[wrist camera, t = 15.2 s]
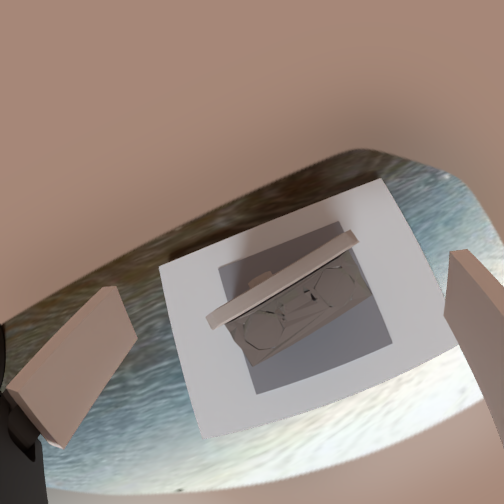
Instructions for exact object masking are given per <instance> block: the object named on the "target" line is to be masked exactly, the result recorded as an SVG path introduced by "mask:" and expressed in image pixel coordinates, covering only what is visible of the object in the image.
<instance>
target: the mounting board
mask: <svg viewBox="0 0 504 504" xmlns="http://www.w3.org/2000/svg"><path fill="white" fill-rule="evenodd" d="M350 229H351V231H352V232H353V234H354V235H355V236H356V238H357V239H358V241H359V243H357V244H356V245H354V246H353V247H351V248H350V249H349V252H350V254H351V256H352V258H353V260H354V261H355V263H356V264H357V266H358V268H359V271H360V274H361V276H362V278H363V280H364V281H365V283H366V285H367V286H368V288H369V289H370V291H371V293H372V295H371V296H370V297H368V298H367V299H365V300H364V301H362V302H361V303H359V304H358V305H356V306H355V307H353V308H351V309H350V310H348V311H347V312H345V313H344V314H342V315H341V316H339V317H337V318H336V319H334V320H333V321H331V322H329V323H328V324H326V325H325V326H323V327H321V328H320V329H318V330H316V331H315V332H313V333H311V334H310V335H308V336H306V337H305V338H303V339H301V340H300V341H298V342H296V343H295V344H293V345H291V346H289V347H288V348H286V349H284V350H282V351H281V352H279V353H277V354H275V355H274V356H272V357H270V358H268V359H266V360H265V361H263V362H261V363H259V364H257V365H255V366H254V367H253V366H251V364H250V362H249V361H248V359H247V357H246V355H245V354H244V352H243V350H242V349H241V348H240V347H239V346H238V345H237V344H236V343H235V342H234V340H233V338H232V336H231V334H230V332H229V331H228V329H227V328H226V326H225V325H222V326H220V327H218V328H216V329H214V330H212V329H211V327H210V325H209V323H208V321H207V319H206V316H207V315H209V314H210V313H211V312H213V311H214V310H216V309H217V308H219V307H220V306H222V305H224V304H225V303H227V302H229V301H230V300H232V299H234V298H236V297H237V296H239V295H241V294H242V293H244V292H246V291H247V290H249V289H250V287H249V285H248V283H249V282H250V281H251V280H252V279H254V278H256V277H258V276H259V275H261V274H263V273H265V272H268V271H271V273H272V274H275V273H277V272H279V271H280V270H282V269H284V268H286V267H287V266H289V265H291V264H292V263H294V262H296V261H297V260H299V259H301V258H302V257H304V256H306V255H307V254H309V253H310V252H312V251H314V250H315V249H317V248H319V247H320V246H322V245H323V244H325V243H327V242H328V241H330V240H331V239H333V238H335V237H336V236H338V235H340V234H342V233H344V232H346V231H348V230H350ZM159 270H160V275H161V280H162V285H163V290H164V295H165V299H166V304H167V309H168V313H169V318H170V322H171V326H172V331H173V335H174V339H175V343H176V347H177V351H178V355H179V359H180V363H181V367H182V371H183V374H184V378H185V382H186V385H187V389H188V393H189V396H190V400H191V403H192V406H193V410H194V413H195V416H196V420H197V423H198V426H199V429H200V433H201V436H202V439H207V438H212V437H217V436H221V435H226V434H230V433H234V432H238V431H242V430H246V429H250V428H254V427H258V426H261V425H265V424H269V423H272V422H276V421H279V420H282V419H286V418H289V417H292V416H295V415H298V414H301V413H305V412H308V411H311V410H313V409H316V408H319V407H322V406H325V405H328V404H330V403H333V402H336V401H339V400H341V399H344V398H346V397H349V396H352V395H354V394H357V393H359V392H362V391H364V390H366V389H369V388H371V387H374V386H376V385H378V384H381V383H383V382H385V381H387V380H390V379H392V378H394V377H396V376H398V375H400V374H403V373H405V372H407V371H409V370H411V369H413V368H415V367H417V366H419V365H421V364H423V363H425V362H427V361H429V360H431V359H433V358H435V357H437V356H439V355H440V354H442V353H444V352H446V351H448V350H450V349H451V348H453V347H455V346H457V345H459V344H458V342H457V340H456V338H455V336H454V334H453V332H452V330H451V329H450V327H449V325H448V323H447V321H446V319H445V318H444V316H443V314H444V307H445V298H444V296H443V293H442V291H441V289H440V287H439V285H438V282H437V280H436V278H435V276H434V274H433V272H432V270H431V268H430V266H429V264H428V262H427V260H426V258H425V256H424V254H423V252H422V250H421V248H420V246H419V244H418V242H417V240H416V238H415V236H414V234H413V232H412V231H411V229H410V227H409V225H408V223H407V221H406V220H405V218H404V216H403V214H402V212H401V211H400V209H399V207H398V206H397V204H396V202H395V200H394V199H393V197H392V195H391V194H390V192H389V190H388V189H387V187H386V185H385V184H384V182H383V180H382V179H381V178H380V179H377V180H374V181H372V182H369V183H366V184H364V185H361V186H358V187H356V188H353V189H351V190H348V191H345V192H343V193H340V194H338V195H335V196H332V197H330V198H327V199H325V200H322V201H320V202H317V203H314V204H312V205H309V206H307V207H304V208H302V209H299V210H297V211H294V212H292V213H289V214H287V215H284V216H281V217H279V218H276V219H274V220H271V221H269V222H266V223H264V224H261V225H259V226H256V227H254V228H252V229H249V230H247V231H244V232H242V233H239V234H237V235H234V236H232V237H229V238H227V239H224V240H222V241H220V242H217V243H215V244H212V245H210V246H207V247H205V248H202V249H200V250H198V251H195V252H193V253H190V254H188V255H186V256H183V257H181V258H178V259H176V260H174V261H171V262H169V263H166V264H164V265H162V266H159ZM351 300H352V298H351ZM332 307H333V306H332ZM275 347H276V346H275ZM275 347H272V348H275Z"/></svg>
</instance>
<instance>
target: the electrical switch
mask: <svg viewBox="0 0 504 504" xmlns="http://www.w3.org/2000/svg"><path fill="white" fill-rule="evenodd" d="M357 243H359V241H358V239H357V238H356V236H355V235H354V234H353V232H352V231H351V229H350V230H348V231H346V232H344V233H342V234H340V235H338V236H336V237H335V238H333V239H331V240H330V241H328V242H327V243H325V244H323V245H322V246H320V247H319V248H317V249H315V250H314V251H312V252H310V253H309V254H307V255H306V256H304V257H302V258H301V259H299V260H297V261H296V262H294V263H292V264H291V265H289V266H287V267H286V268H284V269H282V270H280V271H279V272H277V273H275V274H272V273H271V271H268V272H265V273H263V274H261V275H259V276H258V277H256V278H254V279H252V280H251V281H250V282H249V283H248V285H249V287H250V289H249V290H247V291H246V292H244V293H242V294H241V295H239V296H237V297H236V298H234V299H232V300H230V301H229V302H227V303H225V304H224V305H222V306H220V307H219V308H217V309H216V310H214V311H213V312H211V313H210V314H209V315H207V316H206V319H207V321H208V323H209V325H210V327H211V329H212V330H214V329H216V328H218V327H220V326H222V325H225V326H226V328H227V329H228V331H229V332H230V334H231V336H232V338H233V340H234V342H235V343H236V344H237V345H238V346H239V347H240V348H241V349H242V350H243V352H244V354H245V355H246V357H247V359H248V361H249V362H250V364H251V366H253V367H254V366H255V365H257V364H259V363H261V362H263V361H265V360H266V359H268V358H270V357H272V356H274V355H275V354H277V353H279V352H281V351H282V350H284V349H286V348H288V347H289V346H291V345H293V344H295V343H296V342H298V341H300V340H301V339H303V338H305V337H306V336H308V335H310V334H311V333H313V332H315V331H316V330H318V329H320V328H321V327H323V326H325V325H326V324H328V323H329V322H331V321H333V320H334V319H336V318H337V317H339V316H341V315H342V314H344V313H345V312H347V311H348V310H350V309H351V308H353V307H355V306H356V305H358V304H359V303H361V302H362V301H364V300H365V299H367V298H368V297H370V296H371V295H372V293H371V291H370V289H369V288H368V286H367V285H366V283H365V281H364V280H363V278H362V276H361V274H360V271H359V268H358V266H357V264H356V263H355V261H354V260H353V258H352V256H351V254H350V252H349V249H350V248H351V247H353V246H354V245H356V244H357ZM351 298H352V300H351ZM332 306H333V307H332ZM275 346H276V347H275ZM272 347H275V348H272Z"/></svg>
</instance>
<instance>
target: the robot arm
mask: <svg viewBox="0 0 504 504" xmlns="http://www.w3.org/2000/svg"><path fill="white" fill-rule="evenodd" d="M443 316H444V318H445V319H446V321H447V323H448V325H449V327H450V329H451V330H452V332H453V334H454V336H455V338H456V340H457V342H458V344H459V346H460V348H461V350H462V352H463V354H464V356H465V358H466V360H467V362H468V364H469V366H470V368H471V370H472V372H473V374H474V376H475V379H476V381H477V383H478V385H479V387H480V390H481V392H482V394H483V396H484V399H485V401H486V403H487V406H488V408H489V410H490V413H491V415H492V418H493V420H494V423H495V425H496V428H497V431H498V433H499V436H500V439H501V441H502V444H503V447H504V287H503V286H502V285H501V284H500V283H499V282H498V280H497V279H496V278H495V277H494V276H493V275H492V274H491V273H490V272H489V271H488V270H487V269H486V268H485V267H484V266H483V265H482V264H481V262H480V261H479V260H478V259H477V258H476V257H475V256H474V255H473V254H472V253H471V252H470V251H469V250H468V249H464V250H457V251H450V255H449V269H448V280H447V290H446V299H445V307H444V314H443ZM137 339H138V338H137V336H136V333H135V331H134V329H133V327H132V324H131V322H130V319H129V317H128V315H127V312H126V310H125V307H124V305H123V302H122V300H121V297H120V295H119V292H118V290H117V287H116V286H110V287H102V288H101V289H100V290H99V291H98V292H97V293H96V294H95V295H94V296H93V297H92V298H91V299H90V300H89V301H88V302H87V303H86V304H85V305H84V306H83V307H82V308H81V309H80V310H79V311H78V312H77V313H76V314H75V315H74V316H73V317H72V318H71V319H70V320H69V321H68V322H67V323H66V324H65V325H64V326H63V327H62V328H61V329H60V330H59V331H58V332H57V333H56V334H55V335H54V336H53V337H52V338H51V339H50V340H49V341H48V342H47V343H46V344H45V345H44V346H43V347H42V348H41V349H40V350H39V351H38V353H37V354H36V355H35V356H34V357H33V358H32V359H31V360H30V361H29V362H28V363H27V364H26V365H25V367H24V368H23V369H22V370H21V371H20V372H19V373H18V374H17V375H16V376H15V378H14V379H13V380H12V381H11V382H10V383H9V384H8V385H7V387H6V390H5V391H4V392H3V393H1V391H0V504H48V500H47V493H46V484H45V476H44V465H43V453H42V444H41V442H40V441H39V440H38V436H39V435H40V433H41V435H42V436H43V437H44V438H45V439H46V440H47V442H48V443H49V444H51V445H53V446H56V447H58V448H61V449H64V448H65V447H66V445H67V444H68V442H69V441H70V439H71V437H72V436H73V434H74V433H75V431H76V430H77V428H78V427H79V425H80V423H81V422H82V420H83V419H84V417H85V416H86V414H87V413H88V411H89V410H90V408H91V407H92V405H93V404H94V402H95V401H96V399H97V398H98V396H99V395H100V393H101V392H102V390H103V389H104V387H105V386H106V384H107V383H108V381H109V380H110V378H111V377H112V375H113V374H114V372H115V371H116V369H117V368H118V366H119V365H120V364H121V362H122V361H123V359H124V358H125V356H126V355H127V353H128V352H129V351H130V349H131V348H132V346H133V345H134V343H135V342H136V340H137ZM4 362H5V348H4V338H3V332H2V328H1V325H0V386H1V383H2V379H3V373H4Z"/></svg>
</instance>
